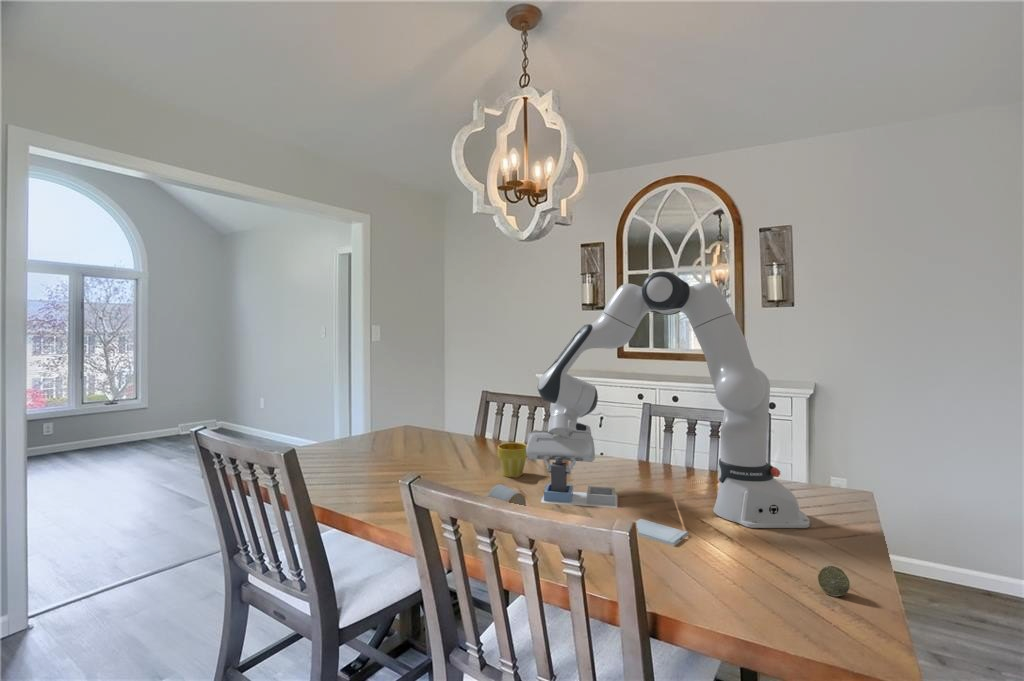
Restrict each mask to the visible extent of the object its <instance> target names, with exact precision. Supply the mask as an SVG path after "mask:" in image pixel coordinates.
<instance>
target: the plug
mask: <svg viewBox="0 0 1024 681" xmlns="http://www.w3.org/2000/svg"><path fill="white" fill-rule="evenodd" d="M550 465H551V473H550V476H551V477H550V484H551V491H553V492H566V491H567V485H568V484H567V481H568V480H567V479H568V477H567V475H568V474H566V466H568V465H567V462H563V461H562V457H555V460H554V462H552V463H551V464H550Z"/></svg>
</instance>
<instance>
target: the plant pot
mask: <svg viewBox="0 0 1024 681" xmlns="http://www.w3.org/2000/svg"><path fill="white" fill-rule="evenodd" d="M526 448H527V444H525V443H522V442H504V443H501V444H499V445H497V457H498V458H499V460H500V461H499V462H500V465H501V470H502V476H505V477H507V478H519V477H521V475H523V474H524V468H525V464H526V460H527V458H528V457H527V455H526Z"/></svg>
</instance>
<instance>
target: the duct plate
mask: <svg viewBox="0 0 1024 681" xmlns="http://www.w3.org/2000/svg"><path fill="white" fill-rule="evenodd" d="M615 490H616V487H612V486H611V487H609V486H607V487H606V486H591V485H588V487H587V492H583V491H574V484H567V491H566V492H553V491H551V483H547V484H546V486H545V487H544V491H543V496H542V498H541V500H540V504H553V505H554V504H555V505H556V504H557V505H570V506H582V507H585V506H586V507H597V508H599V507H600V508H611V509H612V508H613V509H614V508H615V509H618V494H616V491H615Z"/></svg>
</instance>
